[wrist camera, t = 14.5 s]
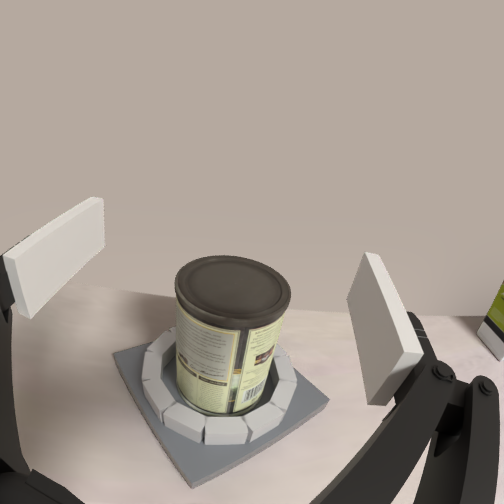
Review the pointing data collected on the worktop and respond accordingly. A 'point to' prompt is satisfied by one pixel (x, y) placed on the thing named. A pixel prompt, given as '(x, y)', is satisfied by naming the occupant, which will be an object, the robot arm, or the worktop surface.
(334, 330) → the worktop surface
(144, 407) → the housing
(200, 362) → the coffee can
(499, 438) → the robot arm
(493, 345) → the tea box
